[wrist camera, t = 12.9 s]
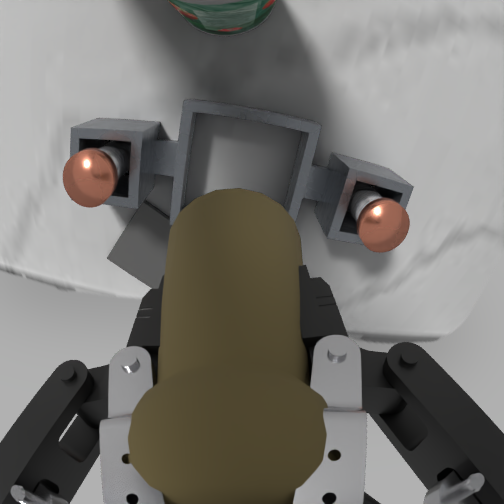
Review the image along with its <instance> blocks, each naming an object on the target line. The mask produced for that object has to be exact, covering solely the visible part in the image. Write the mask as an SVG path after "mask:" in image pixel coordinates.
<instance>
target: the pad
mask: <svg viewBox="0 0 504 504" xmlns="http://www.w3.org/2000/svg"><path fill="white" fill-rule="evenodd" d="M171 227H172V225H170V218H169V217H168V216H166V215H165V214H164V213H162V212H161V211H159V210H158V209H157V208H155V207H154V206H152V205H151V204H150V203H148V202H147V201H145V200H144V201H143V203H142V204H141V206H140V207H139V209H138V210H137V212H136V213H135V215H134V216H133V218H132V219H131V221H130V222H129V224H128V225H127V227H126V228H125V230H124V231H123V233H122V235H121V236H120V238H119V239H118V241H117V242H116V244H115V246H114V247H113V249H112V251H111V252H110V254H109V255H108V257H107V259H108V260H110V261H111V262H113V263H114V264H116V265H117V266H119V267H120V268H122V269H123V270H125V271H126V272H128V273H129V274H131V275H132V276H134V277H135V278H137V279H138V280H140V281H141V282H143V283H145V284H146V285H148V286H149V287H151V288H152V289H158V288H159V285H160V282H161V279H162V276H163V275H165V266H166V257H167V249H168V241H169V233H170V229H171Z"/></svg>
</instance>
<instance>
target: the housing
mask: <svg viewBox="0 0 504 504" xmlns="http://www.w3.org/2000/svg"><path fill="white" fill-rule="evenodd" d="M197 112H199V113H207V114H214V115H221V116H228V117H234V118H240V119H246V120H251V121H257V122H262V123H267V124H272V125H277V126H282V127H286V128H291V129H295V130H300V131H303V132H302V136H301V140H300V144H299V148H298V152H297V156H296V160H295V164H294V168H293V172H292V176H291V180H290V184H289V187H288V191H287V195H286V199H285V203H284V207H283V208H284V209H285V210H286V211H287V212H288V214H289V215H290V216H291V217H292V218H293V219H294V222H296V219H297V215H298V212H299V208H300V205H301V201H302V198H307V199H312V200H317V201H318V202H317V205H316V208H315V212H314V213H315V215H316V217H317V219H318V221H319V223H320V225H321V227H322V229H323V231H324V233H325V235H326V237H327V238H328V239H334V240H339V241H345V242H350V243H356V244H361V245H364V243H363V242H362V240H361V239H360V237H359V236H358V233H357V228H356V224H357V222H356V220H355V219H354V218H353V216H352V215H351V214H350V212H348V211H346V210H347V207H348V204H349V201H350V198H351V195H352V192H353V189H354V186H355V183H356V180H357V181H361V182H365V183H368V184H372V185H376V186H375V190H376V191H377V192H378V193H379V194H380V195H381V196H382V197H383V198H390V199H393V200H395V201H396V202H398V203H399V204H400V205H401V206H402V207H403V208H404V209H406V206H407V204H408V201H409V199H410V196H411V193H412V190H413V188H414V187H413V186H412V185H411V184H409V183H408V182H407V181H405V180H404V179H403V178H401V177H400V176H399V175H397V174H396V173H394V172H393V171H392V170H390V169H389V168H386V167H382V166H379V165H376V164H373V163H369V162H366V161H362V160H359V159H355V158H352V157H348V156H344V155H341V154H337V153H333V152H332V153H331V157H330V160H329V164H328V167H327V168H326V167H322V166H318V165H313V164H312V161H313V157H314V153H315V149H316V146H317V142H318V138H319V134H320V130H321V125H320V124H318V123H316V122H314V121H310V120H306V119H302V118H298V117H294V116H289V115H285V114H280V113H275V112H271V111H266V110H260V109H255V108H250V107H244V106H238V105H232V104H226V103H219V102H212V101H204V100H196V99H187V100H184V104H183V110H182V117H181V123H180V130H179V138H178V141H174V140H165V139H158V137H159V129H160V122H154V121H142V120H128V119H109V118H97V119H94V120H91V121H88V122H85V123H82V124H80V125H77V126H74V127H72V128H71V143H70V158H71V157H72V156H73V155H75V154H76V153H78V152H80V151H82V150H84V149H87V148H97V149H99V148H100V147H102V146H104V140H118V141H130V142H131V154H130V170H129V175H123V176H121V177H120V178H119V179H118V182H117V186H116V189H115V191H114V192H113V194H112V195H111V196H110V197H109V198H108V199H107V200H106V201H105V202H104V203H103V204H106V205H114V206H121V207H129V208H136V209H138V208H139V206H140V205H141V204H142V202H143V201H144V199H145V198H146V197H147V195H148V194H149V193H150V191H151V190H152V189H153V187H154V179H155V174H158V175H166V176H174V180H173V190H172V201H171V212H170V225H173V223H174V221H175V220H176V218H177V216H178V214H179V212H181V211H182V210H183V209H184V208H185V207H186V206H184V202H185V193H186V185H187V177H188V169H189V161H190V154H191V147H192V140H193V133H194V126H195V120H196V114H197ZM71 200H72V199H71Z"/></svg>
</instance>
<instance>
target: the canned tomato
mask: <svg viewBox="0 0 504 504" xmlns="http://www.w3.org/2000/svg"><path fill="white" fill-rule="evenodd" d="M168 1H169V2H170V3H171V4H172V6H174V7H175V9H177V11H178V12H179V13H180V14H181V15H182V16H183V17H184V18H185V19H186V21H187V22H188V23H189V24H191V25H192V26H193V27H194V28H196V29H198V30H200V31H201V32H204V33H207V34H210V35H216V36H234V35H240V34H243V33H246V32H249V31H251V30H253V29H255V28H256V27H258V26H259V25H260V24H262V23H263V22H264V21H265V20H266V19H267V18H268V17H269V16H270V14H271V12H272V10H273V9H274V5H275V3H276V1H277V0H168Z"/></svg>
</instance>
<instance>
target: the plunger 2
mask: <svg viewBox="0 0 504 504" xmlns="http://www.w3.org/2000/svg"><path fill="white" fill-rule="evenodd" d="M347 210H348V211H349V212H350V214H351V215H352V216H353V218H354V219H355V220H356V222H357V224H356V228H357V233H358V236H359V237H360V239H361V240H362V242H363V243H364V245H365V246H366V247H367V248H368V249H369V250H371V251H374V252H379V253H380V252H387V251H390V250H392V249H394V248H396V247H397V246H398V245H400V244H401V242H402V241H403V240H404V239H405V237H406V235H407V233H408V230H409V225H410V221H409V216H408V214H407V212H406V210H405V209H404V208H403V207H402V206H401V205H400V204H399V203H398V202H396V201H395V200H393V199H390V198H383V197H382V196H381V195H380V194H379V193H378V192H377V191H376V190H375V189H374V188H373V187H371V186H370V185H369V184H368V183H365V182H361V181H357V180H356V183H355V186H354V189H353V192H352V195H351V198H350V201H349V204H348V207H347Z"/></svg>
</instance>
